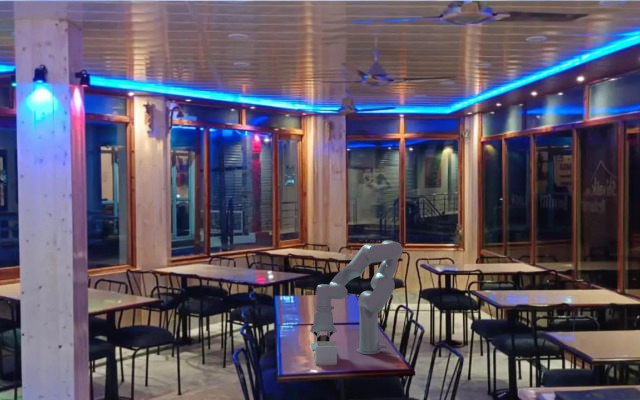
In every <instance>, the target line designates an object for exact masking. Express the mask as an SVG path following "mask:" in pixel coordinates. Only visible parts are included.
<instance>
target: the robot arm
mask: <svg viewBox="0 0 640 400" xmlns="http://www.w3.org/2000/svg"><path fill="white" fill-rule="evenodd" d="M403 250H404V249H403V246H402V245H401V244H400V243H399V242H397V241H393V240H389V239H387V240H383V241H382V242H381V244H372V243H365V244H364V245H363V246H362V247H361V248H360V249H359V251H358V252H357V253H356V254H355V256H354V257H353V258H352V259H351V261H350V262H349V263H348V264H347V265H346V266H345V267H344V268H342V269H341V270H340V271H339V272H338V273H336V275H334V277H333V278H332V280H331V281H330V282H329V284H326V283H325V284H324V283H321V284H318V285H317V286H316V298H315V300H316V301H315V302H316V304H315V305H316V306H315V307H316V309H315V310H314V313H313V323H312V324H313V325H312V326H311V328H310V330H309V332H310V333H312V334H314V336H315V337H316V342H320V335H321V334H320V333H321V332H326V333H327V334H326V335H327V341H331V340H330V338H331V337H332V335H333V334H335V333H337V328H336V327H335V325H334V314H333V311H332V310H335V308H334V307H335V306H332V299H333V300H344V299H345V298H346V297H347V296H348V289H347V288H346V285H347V284H348V283H349V282H350V281H352V280H353V279H355V278H357V277H360V276H361V275H362V274H363V273H364V272H365V271H366V269H367V268H368V267H369V266H370V264H371V263H373V262H375V263H377V262H381V263H380V265H379V267H378V268H377V270H376V272H375V274H374V275H373V276H372V279H371V281H370V286H371V288H372V289H373V290H365V291H362V292H361V293H360V295H359V297H358V310H359V311H358V313H359V345H358V346H359V347H357V348H356V352H357V353H358V354H363V355H376V354H380V353H381V349H387V347H388V346H387V344H384V343H379V342H378V341H379V340H378V339H379V335H378V334H379V333H378V332H379V330H378V329H379V323H378V322H379V315H378V314H379V312H381V311H382V310H383V309H384V307H385V305H386V304H387V303H388V301H389V299H390V298H391V296H392V294H393V293H394V290H395V285H396V284H395V281H394V279H393V277H394V276H395V273H396V270H397V268H398V265H399V259H398V258H400V257H401V256H402V255H403V252H404V251H403Z"/></svg>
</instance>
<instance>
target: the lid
mask: <svg viewBox="0 0 640 400" xmlns="http://www.w3.org/2000/svg"><path fill="white" fill-rule="evenodd" d="M319 336H320V342H323V341H327V334H319ZM310 345H311V351H312V352H315V342H314V343H312V342H311V343H310Z"/></svg>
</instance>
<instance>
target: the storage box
mask: <svg viewBox="0 0 640 400" xmlns="http://www.w3.org/2000/svg"><path fill="white" fill-rule="evenodd" d="M314 343H315V351H314V361H315V365H316V366H319V367H320V366H338V346H337V343H336V341H334V340H333V341H331V340H329V341H323V342H317V341H314Z"/></svg>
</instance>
